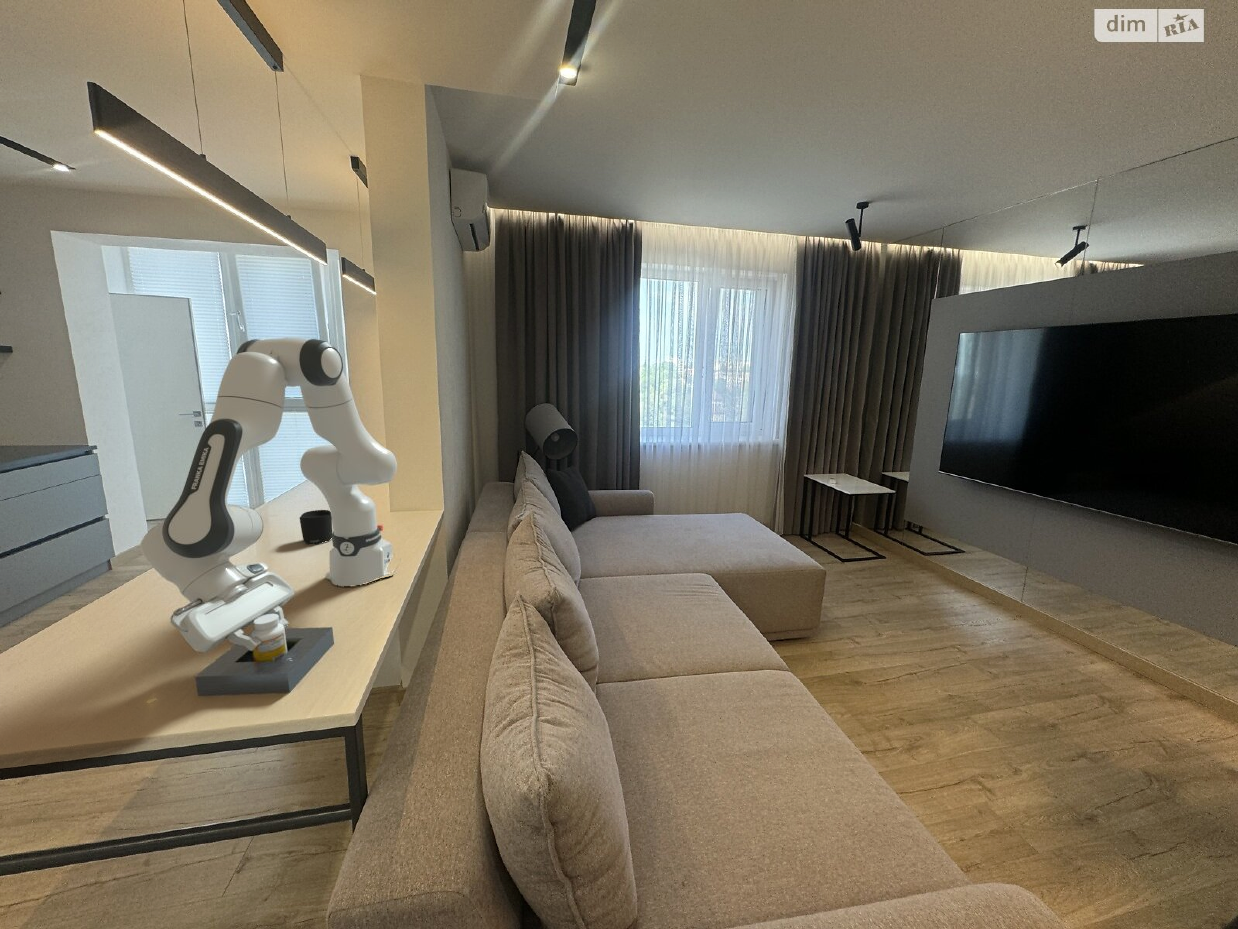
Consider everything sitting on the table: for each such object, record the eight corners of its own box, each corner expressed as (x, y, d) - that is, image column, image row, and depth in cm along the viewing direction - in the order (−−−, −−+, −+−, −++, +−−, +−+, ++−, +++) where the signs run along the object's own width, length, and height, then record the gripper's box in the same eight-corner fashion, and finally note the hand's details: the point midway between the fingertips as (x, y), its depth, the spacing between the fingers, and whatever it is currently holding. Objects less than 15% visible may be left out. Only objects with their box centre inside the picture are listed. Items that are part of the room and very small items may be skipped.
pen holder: (295, 543, 160) (292, 516, 158) (320, 534, 169) (317, 508, 167) (316, 546, 157) (313, 519, 155) (340, 538, 166) (337, 511, 164)
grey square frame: (257, 646, 100) (255, 629, 99) (334, 643, 102) (332, 627, 101) (198, 696, 85) (194, 676, 84) (289, 692, 86) (287, 673, 85)
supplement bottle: (260, 657, 94) (254, 614, 93) (291, 652, 96) (286, 609, 95) (251, 673, 90) (244, 628, 88) (284, 667, 92) (278, 622, 90)
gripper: (173, 605, 80) (233, 659, 81) (270, 559, 100) (317, 603, 101) (154, 626, 81) (213, 679, 82) (254, 577, 101) (300, 620, 102)
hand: (271, 637), depth 92 cm, fingers closed on supplement bottle, 5 cm apart
